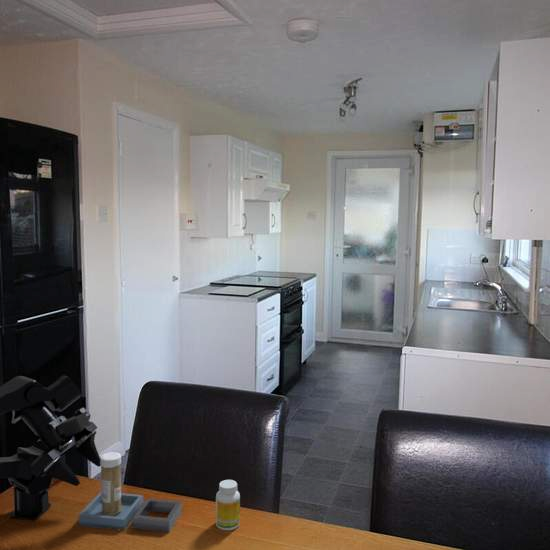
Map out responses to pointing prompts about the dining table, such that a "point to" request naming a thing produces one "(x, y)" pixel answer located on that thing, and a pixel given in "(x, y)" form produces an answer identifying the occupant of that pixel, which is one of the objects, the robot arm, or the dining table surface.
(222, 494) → the supplement bottle
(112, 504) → the sprinkles bottle
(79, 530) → the dining table surface
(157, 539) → the dining table surface
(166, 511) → the bottle holder
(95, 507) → the tray
